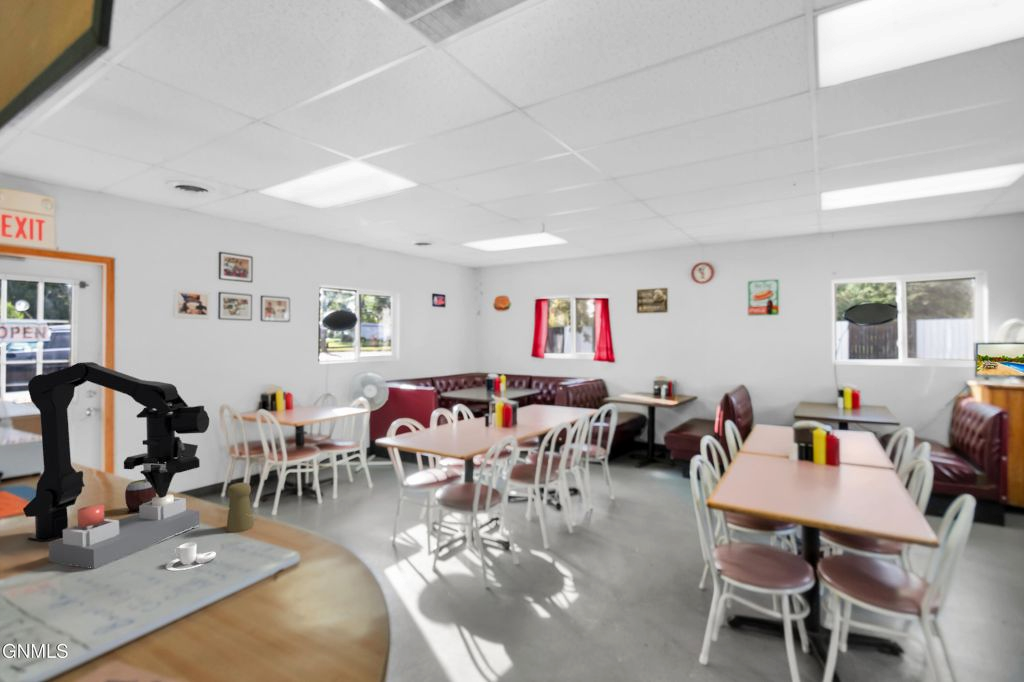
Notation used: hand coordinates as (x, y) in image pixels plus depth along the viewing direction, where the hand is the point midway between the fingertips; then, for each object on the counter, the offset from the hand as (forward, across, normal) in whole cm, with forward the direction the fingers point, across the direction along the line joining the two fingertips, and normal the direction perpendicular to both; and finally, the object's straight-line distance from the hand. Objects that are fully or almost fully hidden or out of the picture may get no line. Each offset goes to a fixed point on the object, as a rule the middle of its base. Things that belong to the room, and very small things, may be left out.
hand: (162, 497), depth 124 cm
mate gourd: (+8, +21, -10) cm, 25 cm away
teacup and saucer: (+9, -26, +14) cm, 31 cm away
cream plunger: (+3, 0, 0) cm, 3 cm away
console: (+8, 0, +8) cm, 11 cm away
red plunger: (+1, 0, +16) cm, 16 cm away
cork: (+8, -18, -6) cm, 21 cm away
